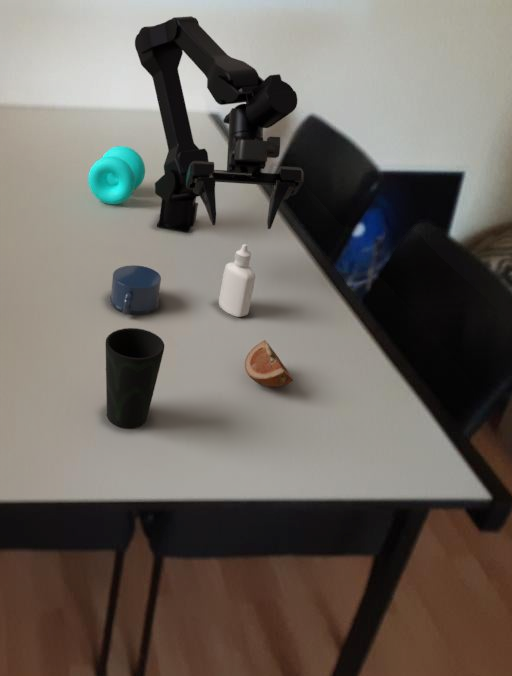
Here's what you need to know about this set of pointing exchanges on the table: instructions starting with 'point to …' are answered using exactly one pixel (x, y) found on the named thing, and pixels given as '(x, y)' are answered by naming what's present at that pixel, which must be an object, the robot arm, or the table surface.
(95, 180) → the donuts
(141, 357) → the cup
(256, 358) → the fruit slice
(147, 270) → the blue mug
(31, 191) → the table surface
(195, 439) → the table surface
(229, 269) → the eye dropper bottle
